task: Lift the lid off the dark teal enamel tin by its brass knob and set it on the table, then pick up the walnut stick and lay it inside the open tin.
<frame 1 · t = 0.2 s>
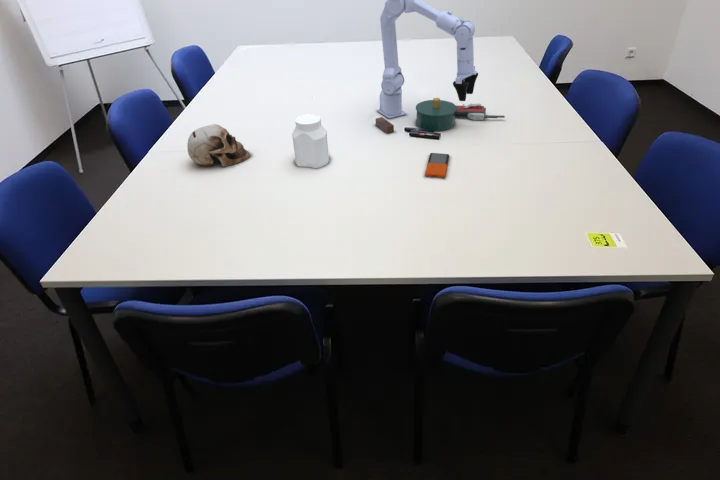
hand: (466, 97, 175), 11 cm above the table, tool pointing down, fingers open, 7 cm apart
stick: (384, 128, 180), on the table
jar: (312, 161, 161), on the table
tin: (434, 123, 182), on the table
phone: (437, 167, 155), on the table
coin bank: (221, 160, 164), on the table
walkie-talkie: (477, 116, 186), on the table
tin lid: (435, 108, 179), point 6 cm above the table, touching tin
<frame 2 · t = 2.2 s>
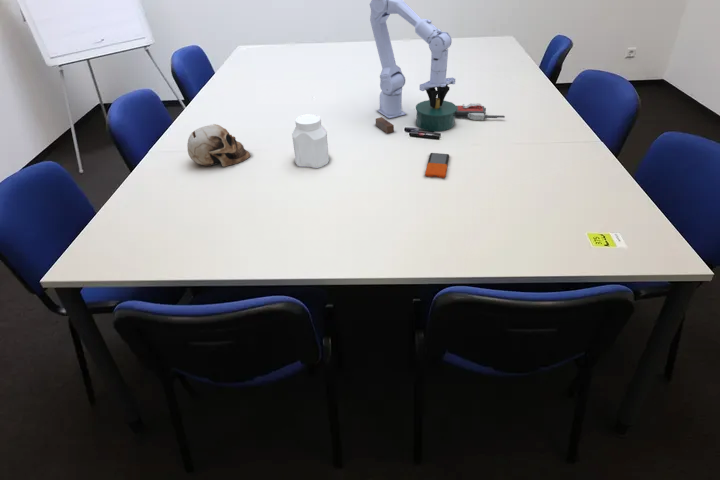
hand: (436, 106, 178), 7 cm above the table, tool pointing down, fingers closed on tin lid, 2 cm apart
tin lid: (436, 108, 179), point 6 cm above the table, touching gripper, tin
everything else where it was.
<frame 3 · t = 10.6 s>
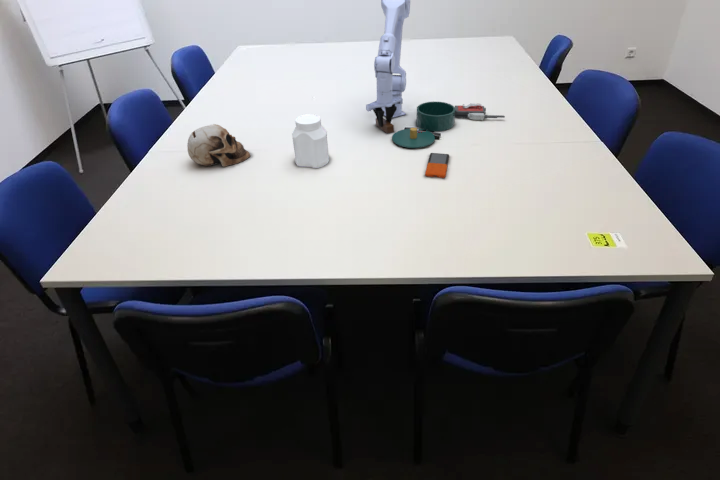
hand: (384, 125, 179), 1 cm above the table, tool pointing down, fingers closed on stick, 3 cm apart
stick: (384, 128, 180), on the table, touching gripper
tin lid: (413, 138, 171), point 1 cm above the table
everything else where it was.
when the fingers open (2 cm above the table, at t = 15.5 s): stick stays where it is, resting on tin.
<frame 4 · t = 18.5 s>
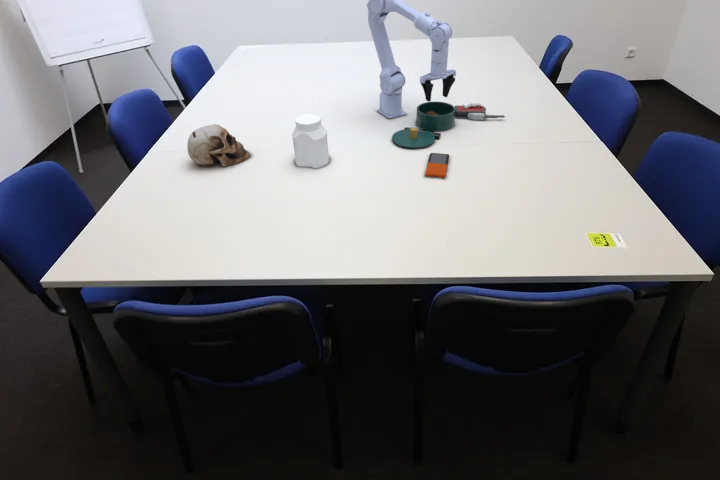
hand: (436, 98, 176), 10 cm above the table, tool pointing down, fingers open, 7 cm apart
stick: (435, 122, 182), resting on tin
everything else where it was.
at the end: tin lid inside the target area (0.1 cm from its centre), point 0.6 cm above the table; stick inside the target area in the tin (0.1 cm from its centre), point 0.5 cm above the tin's base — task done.
